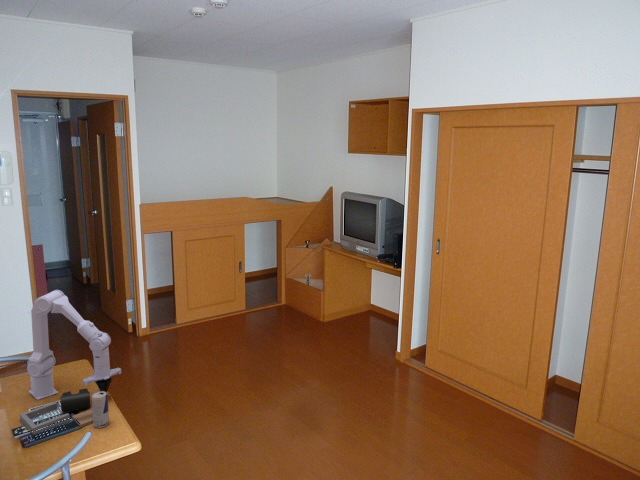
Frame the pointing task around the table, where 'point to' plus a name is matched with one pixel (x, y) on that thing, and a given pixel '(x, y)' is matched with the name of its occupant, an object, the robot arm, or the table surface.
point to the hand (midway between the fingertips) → (103, 395)
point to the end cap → (75, 400)
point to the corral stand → (42, 410)
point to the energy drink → (100, 409)
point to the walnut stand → (84, 418)
